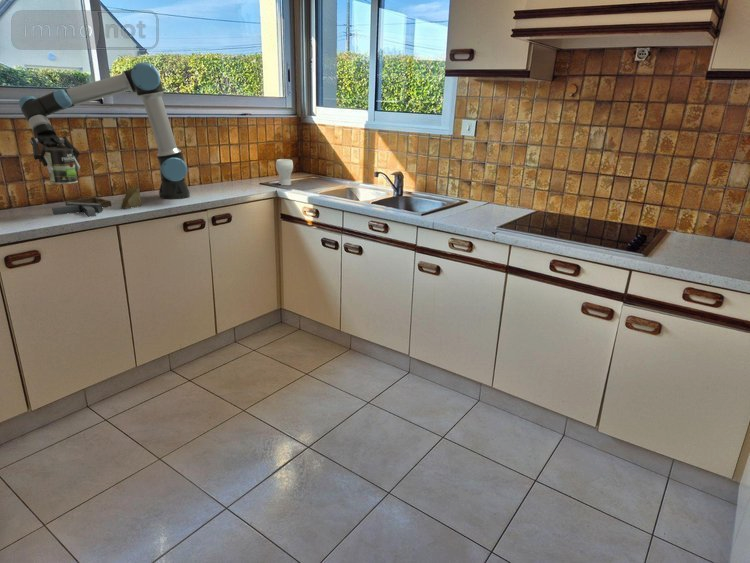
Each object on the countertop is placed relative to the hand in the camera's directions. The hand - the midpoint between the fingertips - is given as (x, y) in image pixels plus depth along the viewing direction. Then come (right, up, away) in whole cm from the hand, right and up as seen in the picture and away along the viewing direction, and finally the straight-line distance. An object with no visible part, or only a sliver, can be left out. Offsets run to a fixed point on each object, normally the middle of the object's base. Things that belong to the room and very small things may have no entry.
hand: (65, 170), depth 210 cm
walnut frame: (-4, -12, +24) cm, 27 cm away
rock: (+15, -12, +25) cm, 32 cm away
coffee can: (-3, -5, +4) cm, 7 cm away
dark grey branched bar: (0, -17, +10) cm, 19 cm away
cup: (+75, +14, +101) cm, 126 cm away
